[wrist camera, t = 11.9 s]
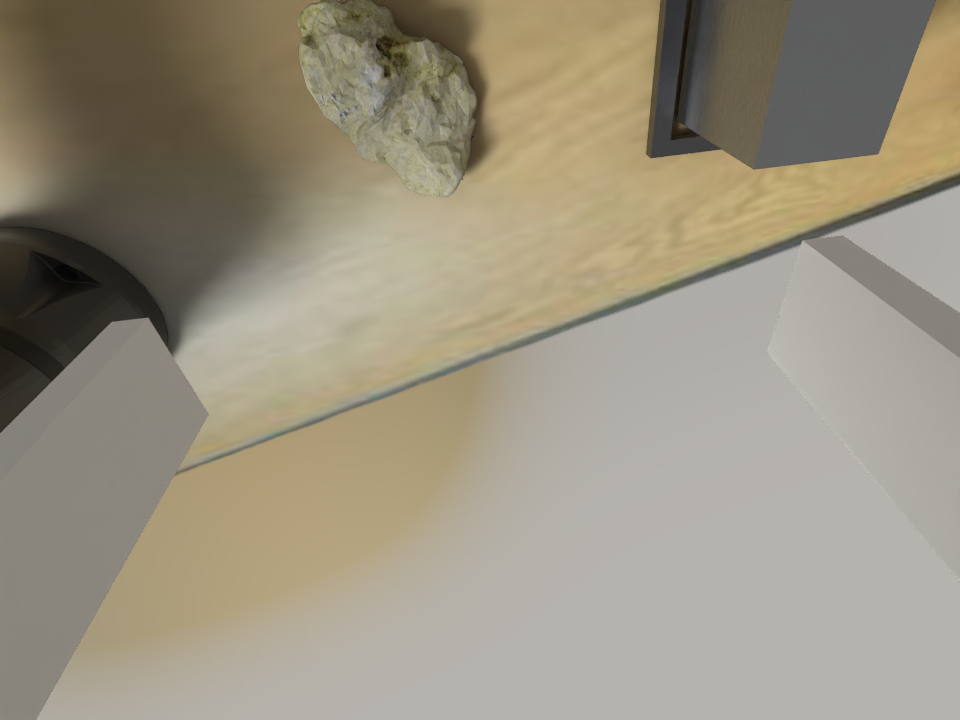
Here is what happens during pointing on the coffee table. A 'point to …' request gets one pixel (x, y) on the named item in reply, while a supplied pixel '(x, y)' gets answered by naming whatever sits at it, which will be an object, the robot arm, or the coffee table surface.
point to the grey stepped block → (797, 75)
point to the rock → (390, 92)
